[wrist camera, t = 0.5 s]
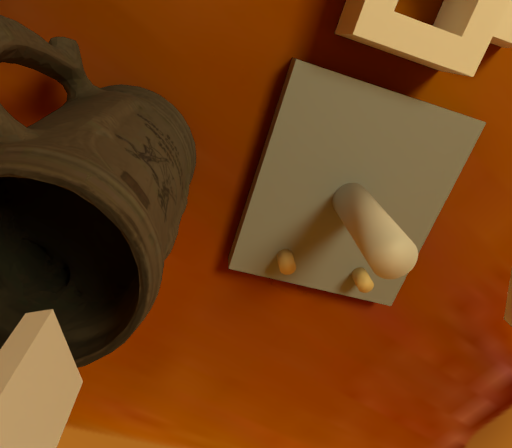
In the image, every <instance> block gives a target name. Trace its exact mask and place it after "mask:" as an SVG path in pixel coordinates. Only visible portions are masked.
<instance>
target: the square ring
mask: <svg viewBox="0 0 512 448" xmlns="http://www.w3.org/2000/svg"><path fill="white" fill-rule="evenodd" d="M397 2H398V0H346V2H345V5H344V7H343V10H342V13H341V16H340V19H339V22H338V25H337V28H336V30H335V33H334V34H337V35H339V36H342V37H345V38H348V39H351V40H354V41H356V42H359V43H362V44H365V45H368V46H371V47H373V48H376V49H379V50H382V51H385V52H388V53H390V54H393V55H396V56H399V57H402V58H405V59H407V60H410V61H413V62H416V63H419V64H422V65H424V66H427V67H430V68H433V69H436V70H439V71H444V72H449V73H454V74H460V75H465V76H470V77H473V76H474V74H475V72H476V70H477V68H478V66H479V64H480V62H481V60H482V58H483V56H484V54H485V52H486V50H487V48H488V46H489V44H490V43H491V44H494V45H497V46H499V47H503V48H512V0H444V1H443V3H442V5H441V8H440V10H439V12H438V15H437V17H436V19H435V22H434V24H433V26H432V25H429V24H426V23H424V22H421V21H418V20H416V19H413V18H410V17H408V16H405V15H402V14H400V13H397V12H394V9H395V7H396V4H397Z"/></svg>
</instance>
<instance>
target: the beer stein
mask: <svg viewBox="0 0 512 448" xmlns="http://www.w3.org/2000/svg"><path fill="white" fill-rule="evenodd" d="M1 62H6V63H15V64H19V65H22V66H26V67H29V68H32V69H34V70H37V71H39V72H41V73H43V74H45V75H47V76H49V77H51V78H53V79H55V80H57V81H58V82H59V83H61V84H62V85H63V87H64V89H65V90H66V92H67V102H66V103H65V104H64V105H63V106H62V107H61V108H59V109H58V110H56V111H54V112H52V113H51V114H49V115H48V116H46V117H44V118H43V119H41V120H40V121H38V122H36V123H34V124H33V125H31V126H29V127H27V128H26V127H25V126H24V125H22V124H21V123H19V122H18V121H17V120H15V119H14V118H13V117H12V116H11V115H10V114H9V113H8V112H7V111H6V110H5V109H4V108H3V106H2V105H1V104H0V349H1V348H2V346H3V345H4V343H5V342H6V341H7V339H8V338H9V336H10V335H11V333H12V332H13V331H14V329H15V328H16V326H17V325H18V323H19V322H20V320H21V319H22V318H23V316H24V315H25V313H30V312H36V311H43V310H50V309H53V311H54V313H55V315H56V318H57V320H58V323H59V325H60V327H61V330H62V332H63V335H64V337H65V340H66V342H67V344H68V347H69V349H70V352H71V354H72V357H73V359H74V361H75V364H76V366H77V368H78V367H82V366H86V365H88V364H90V363H92V362H94V361H96V360H98V359H100V358H101V357H103V356H105V355H107V354H109V353H111V352H113V351H114V350H115V349H117V348H118V347H119V346H121V345H122V344H123V343H125V342H126V340H127V339H128V338H129V337H130V336H131V335H132V333H133V332H134V331H135V330H136V329H137V327H138V326H139V325H140V324H141V322H142V321H143V320H144V318H145V317H146V315H147V314H148V312H149V311H150V309H151V308H152V305H153V303H154V301H155V299H156V297H157V295H158V292H159V288H160V284H161V280H162V273H163V267H164V260H165V259H166V258H167V256H168V255H169V254H170V252H171V250H172V248H173V245H174V242H175V240H176V237H177V234H178V228H179V223H180V220H181V217H182V214H183V213H184V210H185V208H186V205H187V197H188V192H189V184H190V182H191V180H192V177H193V173H194V169H195V164H196V150H195V142H194V140H193V137H192V134H191V131H190V128H189V126H188V125H187V123H186V121H185V120H184V118H183V116H182V115H181V114H180V112H179V111H178V110H177V109H176V108H175V107H174V106H173V105H172V104H171V103H169V102H168V101H167V100H165V99H164V98H163V97H161V96H160V95H158V94H156V93H154V92H152V91H149V90H147V89H144V88H141V87H136V86H128V85H114V86H107V87H103V88H98V87H96V86H94V85H93V84H92V83H91V82H90V80H89V79H88V78H87V76H86V74H85V72H84V69H83V64H82V60H81V55H80V51H79V46H78V44H77V43H76V41H75V40H72V39H69V38H65V37H54V38H51V39H50V41H49V43H48V42H46V41H45V40H44V39H43V38H41V37H40V36H39V35H37V34H36V33H34V32H33V31H31V30H29V29H28V28H26V27H25V26H23V25H21V24H20V23H18V22H17V21H14V20H12V19H9V18H7V17H4V16H1V15H0V63H1Z"/></svg>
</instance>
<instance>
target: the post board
mask: <svg viewBox="0 0 512 448" xmlns="http://www.w3.org/2000/svg"><path fill="white" fill-rule="evenodd" d="M485 124H486V122H483V121H480V120H477V119H474V118H471V117H468V116H465V115H462V114H459V113H456V112H453V111H450V110H448V109H445V108H442V107H439V106H436V105H433V104H430V103H427V102H424V101H421V100H418V99H415V98H412V97H409V96H406V95H403V94H400V93H397V92H394V91H391V90H388V89H385V88H382V87H379V86H376V85H373V84H370V83H367V82H364V81H361V80H358V79H355V78H352V77H349V76H346V75H343V74H340V73H337V72H334V71H331V70H328V69H325V68H322V67H319V66H316V65H313V64H310V63H307V62H304V61H301V60H298V59H295V58H292V60H291V63H290V66H289V69H288V72H287V75H286V78H285V82H284V85H283V88H282V91H281V94H280V97H279V100H278V103H277V107H276V110H275V113H274V116H273V119H272V122H271V125H270V129H269V132H268V135H267V138H266V141H265V144H264V147H263V150H262V154H261V157H260V160H259V163H258V166H257V169H256V172H255V176H254V179H253V182H252V185H251V188H250V191H249V194H248V197H247V201H246V204H245V207H244V210H243V213H242V216H241V219H240V223H239V226H238V229H237V232H236V235H235V238H234V241H233V244H232V248H231V251H230V254H229V257H228V267H229V269H232V270H236V271H241V272H245V273H249V274H254V275H258V276H263V277H267V278H271V279H276V280H280V281H284V282H289V283H293V284H297V285H302V286H306V287H310V288H315V289H319V290H323V291H328V292H332V293H337V294H341V295H345V296H350V297H354V298H358V299H363V300H367V301H371V302H376V303H380V304H384V305H389V306H391V305H392V303H393V301H394V299H395V297H396V295H397V293H398V292H399V290H400V288H401V286H402V284H403V282H404V280H405V278H406V276H407V274H408V272H410V271H411V270H412V269H413V267H414V266H415V264H416V262H417V259H418V253H419V251H420V249H421V247H422V245H423V243H424V241H425V240H426V238H427V236H428V234H429V232H430V230H431V228H432V226H433V224H434V222H435V220H436V218H437V216H438V215H439V213H440V211H441V209H442V207H443V205H444V203H445V201H446V199H447V197H448V195H449V193H450V191H451V190H452V188H453V186H454V184H455V182H456V180H457V178H458V176H459V174H460V172H461V170H462V168H463V166H464V165H465V163H466V161H467V159H468V157H469V155H470V153H471V151H472V149H473V147H474V145H475V143H476V141H477V139H478V138H479V136H480V134H481V132H482V130H483V128H484V126H485Z"/></svg>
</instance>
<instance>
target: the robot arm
mask: <svg viewBox="0 0 512 448" xmlns="http://www.w3.org/2000/svg"><path fill="white" fill-rule="evenodd" d="M504 319H505V320H506V321H507V323H508V324H509V325H510V326H511V327H512V269H511V276H510V283H509V289H508V296H507V302H506V309H505V315H504ZM82 383H83V381H82V378H81V376H80V373H79V371H78V369H77V366H76V364H75V361H74V359H73V357H72V354H71V352H70V349H69V347H68V344H67V342H66V340H65V337H64V335H63V332H62V330H61V327H60V325H59V323H58V320H57V318H56V315H55V313H54V311H53V309H50V310H43V311H36V312H30V313H25V315H24V316H23V318H22V319H21V320H20V322H19V323H18V325H17V326H16V328H15V329H14V331H13V332H12V333H11V335H10V336H9V338H8V339H7V341H6V342H5V343H4V345H3V346H2V348H1V349H0V448H57V445H58V442H59V440H60V438H61V435H62V433H63V430H64V428H65V425H66V423H67V420H68V418H69V415H70V413H71V410H72V408H73V405H74V403H75V400H76V398H77V395H78V393H79V390H80V388H81V385H82Z"/></svg>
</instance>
